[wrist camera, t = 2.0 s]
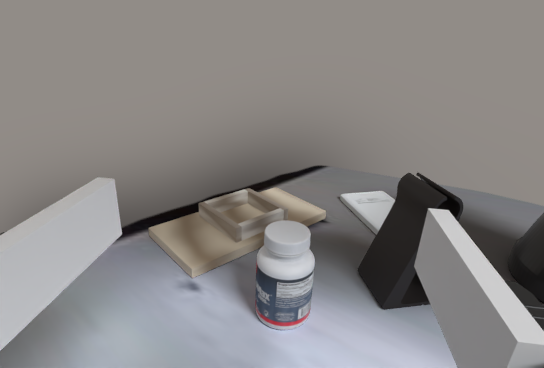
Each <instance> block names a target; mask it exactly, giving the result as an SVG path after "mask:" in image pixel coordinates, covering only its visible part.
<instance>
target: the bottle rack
mask: <svg viewBox="0 0 544 368" xmlns="http://www.w3.org/2000/svg"><path fill="white" fill-rule="evenodd" d="M325 217H326V211H325V210H323V209H320V208H318V207H316V206H314V205H312V204H310V203H308V202H306V201H304V200H301V199H299V198H297V197H295V196H293V195H291V194H289V193H287V192H285V191H282V190H280V189H278V188H276V187H275V188H272V189H269V190H266V191H262V192H259V193H257V192H255V191H253V190H251V189H249V188H248V189H244V190H241V191H238V192H234V193H231V194H228V195H224V196H221V197H218V198H214V199H211V200H208V201H205V202H201V203H199V212H197V213H194V214H191V215H187V216H184V217H181V218H178V219H175V220H172V221H169V222H166V223H162V224H159V225H156V226H153V227H150V228H149V236H150V237H151V238H152V239H153V240H154V241H155V242H156V243H157V244H158V245H159V246H160V247H161V248H162V249H163V250H164V251H165V252H166V253H167V254H168V255H169V256H170V257H171V258H172V259H173V260H174V261H175V262H176V263H177V264H178V265H179V266H180V267H181V268H182V269H183V270H184V271H185V272H186V273H187V274H188V275H189V276H190V277H191V278H194V277H197V276H199V275H201V274H203V273H205V272H208V271H210V270H212V269H214V268H216V267H219V266H221V265H223V264H225V263H228V262H230V261H232V260H234V259H236V258H239V257H241V256H243V255H245V254H248V253H250V252H252V251H254V250H256V249H259V248H261V247H262V246H264V234H265V229H266V227H267V226H268V225H269V224H271V223H273V222H276V221H283V220H288V221H295V222H299V223H301V224H303V225H305V226H306V227H307V226H310V225H312V224H314V223H316V222H318V221H321V220H323V219H325Z"/></svg>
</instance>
